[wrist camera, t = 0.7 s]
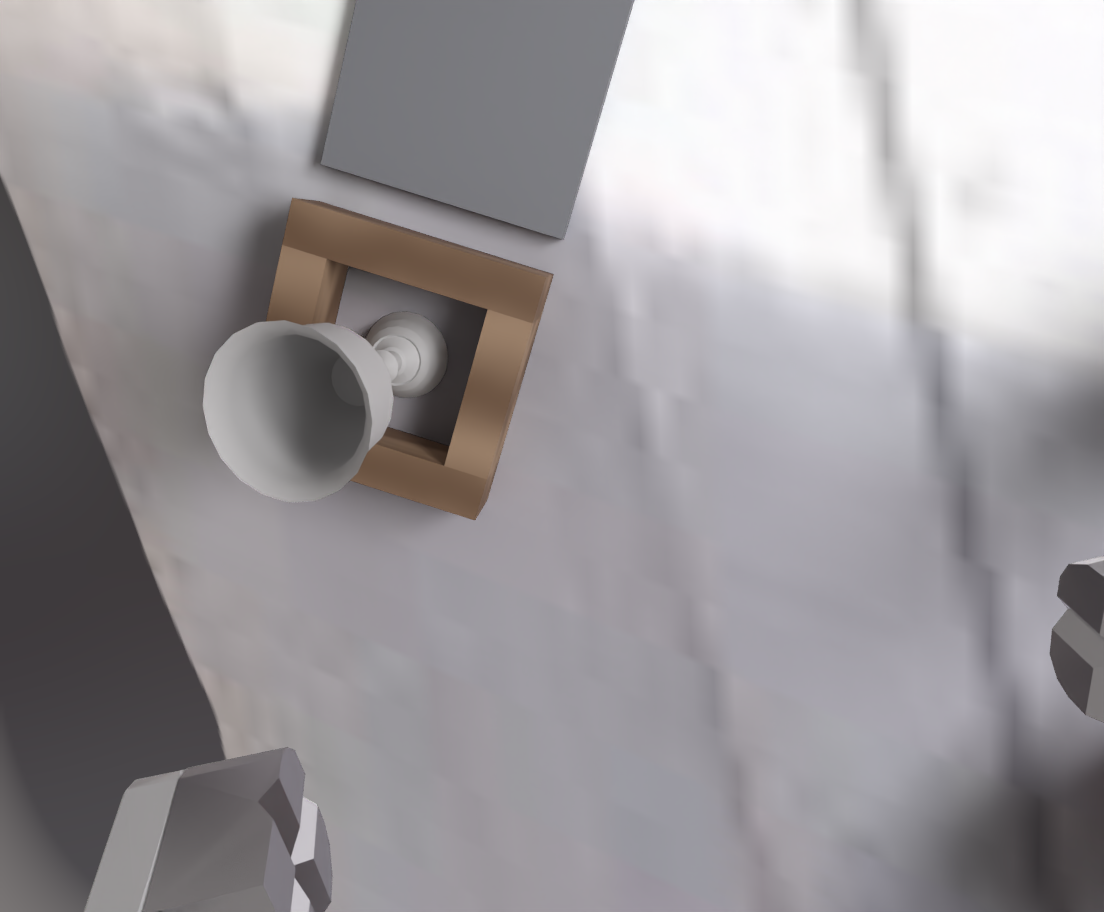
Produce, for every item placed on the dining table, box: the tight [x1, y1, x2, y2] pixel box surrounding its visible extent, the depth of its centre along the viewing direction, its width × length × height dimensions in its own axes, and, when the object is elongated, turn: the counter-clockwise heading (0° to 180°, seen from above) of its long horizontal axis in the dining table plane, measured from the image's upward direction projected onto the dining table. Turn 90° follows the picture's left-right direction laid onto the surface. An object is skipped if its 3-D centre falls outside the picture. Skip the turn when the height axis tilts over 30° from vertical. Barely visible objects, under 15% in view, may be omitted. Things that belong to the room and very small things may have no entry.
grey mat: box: [321, 0, 634, 240], centre depth 48 cm, size 14×14×1 cm
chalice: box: [203, 311, 448, 503], centre depth 44 cm, size 7×7×18 cm
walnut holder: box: [266, 198, 554, 520], centre depth 50 cm, size 14×14×4 cm
